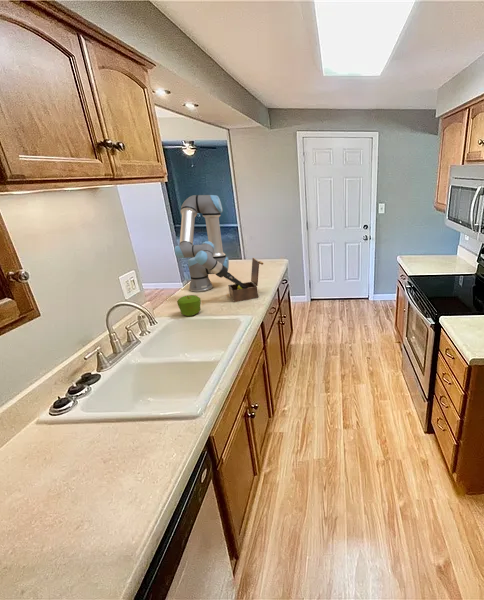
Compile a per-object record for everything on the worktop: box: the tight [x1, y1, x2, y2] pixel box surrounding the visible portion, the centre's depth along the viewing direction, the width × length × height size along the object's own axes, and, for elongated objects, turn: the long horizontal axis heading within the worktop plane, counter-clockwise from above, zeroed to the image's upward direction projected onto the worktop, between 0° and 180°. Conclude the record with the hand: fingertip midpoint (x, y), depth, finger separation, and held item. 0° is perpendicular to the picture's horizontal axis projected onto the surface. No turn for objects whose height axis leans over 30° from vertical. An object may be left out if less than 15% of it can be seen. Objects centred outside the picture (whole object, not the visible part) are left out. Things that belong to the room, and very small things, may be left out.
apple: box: [176, 294, 202, 317], centre depth 192 cm, size 12×12×11 cm
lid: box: [250, 257, 264, 287], centre depth 221 cm, size 16×14×5 cm
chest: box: [227, 281, 259, 303], centre depth 220 cm, size 16×14×8 cm
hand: (246, 288), depth 221 cm, fingers closed on lemon, 8 cm apart
